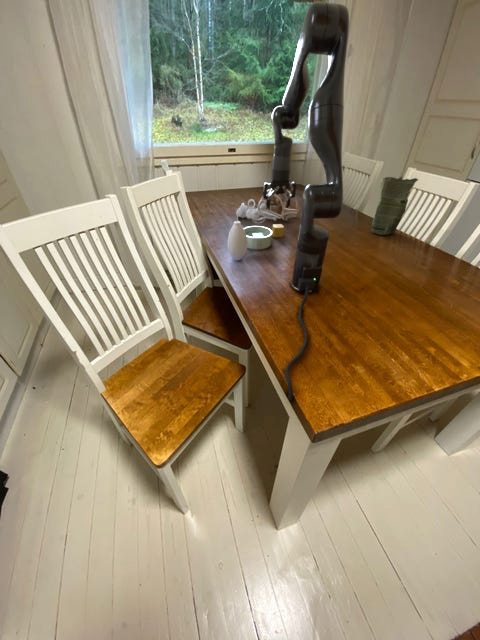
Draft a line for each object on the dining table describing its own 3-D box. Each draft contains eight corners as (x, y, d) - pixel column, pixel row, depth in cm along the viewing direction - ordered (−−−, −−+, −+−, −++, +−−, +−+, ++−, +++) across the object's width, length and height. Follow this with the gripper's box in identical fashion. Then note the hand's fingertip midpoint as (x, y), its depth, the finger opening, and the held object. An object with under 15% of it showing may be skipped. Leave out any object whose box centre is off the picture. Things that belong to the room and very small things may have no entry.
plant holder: (305, 227, 144) (311, 195, 134) (240, 228, 139) (241, 195, 129) (289, 209, 165) (294, 180, 155) (232, 209, 160) (233, 179, 150)
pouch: (364, 230, 137) (381, 175, 122) (381, 226, 142) (399, 172, 126) (382, 238, 130) (403, 180, 114) (399, 233, 134) (421, 177, 118)
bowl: (274, 249, 120) (275, 237, 116) (243, 250, 118) (243, 238, 115) (267, 236, 130) (268, 225, 127) (239, 238, 129) (239, 226, 125)
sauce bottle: (230, 264, 108) (229, 219, 97) (226, 256, 114) (224, 212, 103) (249, 262, 110) (250, 217, 99) (243, 254, 116) (244, 210, 104)
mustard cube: (283, 236, 130) (284, 227, 127) (273, 237, 130) (274, 227, 127) (280, 233, 134) (281, 223, 131) (271, 233, 133) (272, 224, 130)
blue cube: (263, 246, 121) (264, 236, 118) (253, 247, 120) (253, 237, 117) (261, 242, 124) (261, 232, 121) (251, 243, 123) (251, 233, 121)
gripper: (266, 169, 109) (264, 211, 119) (300, 168, 110) (295, 209, 121) (262, 165, 114) (260, 205, 125) (295, 165, 116) (290, 204, 127)
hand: (277, 207), depth 123 cm, fingers open, 8 cm apart
